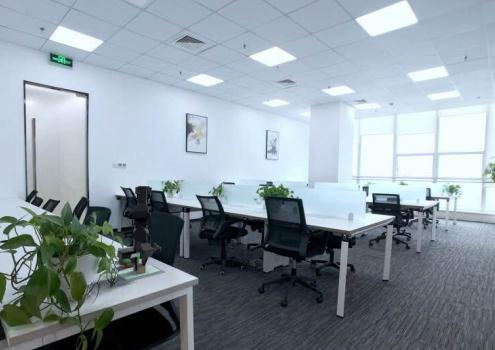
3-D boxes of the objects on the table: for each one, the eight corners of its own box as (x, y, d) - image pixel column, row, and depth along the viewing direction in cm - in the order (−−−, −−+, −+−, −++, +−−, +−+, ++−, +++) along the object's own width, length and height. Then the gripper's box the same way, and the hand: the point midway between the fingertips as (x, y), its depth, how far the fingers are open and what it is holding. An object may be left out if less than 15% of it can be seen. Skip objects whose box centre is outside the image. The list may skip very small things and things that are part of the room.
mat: (111, 275, 126) (111, 274, 126) (152, 266, 140) (152, 265, 140) (123, 284, 117) (123, 283, 117) (165, 272, 132) (166, 272, 132)
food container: (123, 271, 131) (123, 250, 131) (116, 268, 135) (117, 247, 135) (146, 265, 141) (147, 245, 141) (139, 262, 145) (140, 243, 145)
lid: (117, 274, 126) (117, 266, 126) (150, 266, 138) (150, 259, 138) (126, 280, 119) (127, 272, 119) (160, 272, 131) (160, 264, 131)
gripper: (128, 243, 116) (126, 280, 116) (167, 236, 130) (166, 270, 130) (117, 238, 124) (115, 273, 124) (155, 232, 138) (154, 264, 138)
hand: (139, 270), depth 129 cm, fingers closed on lid, 3 cm apart
